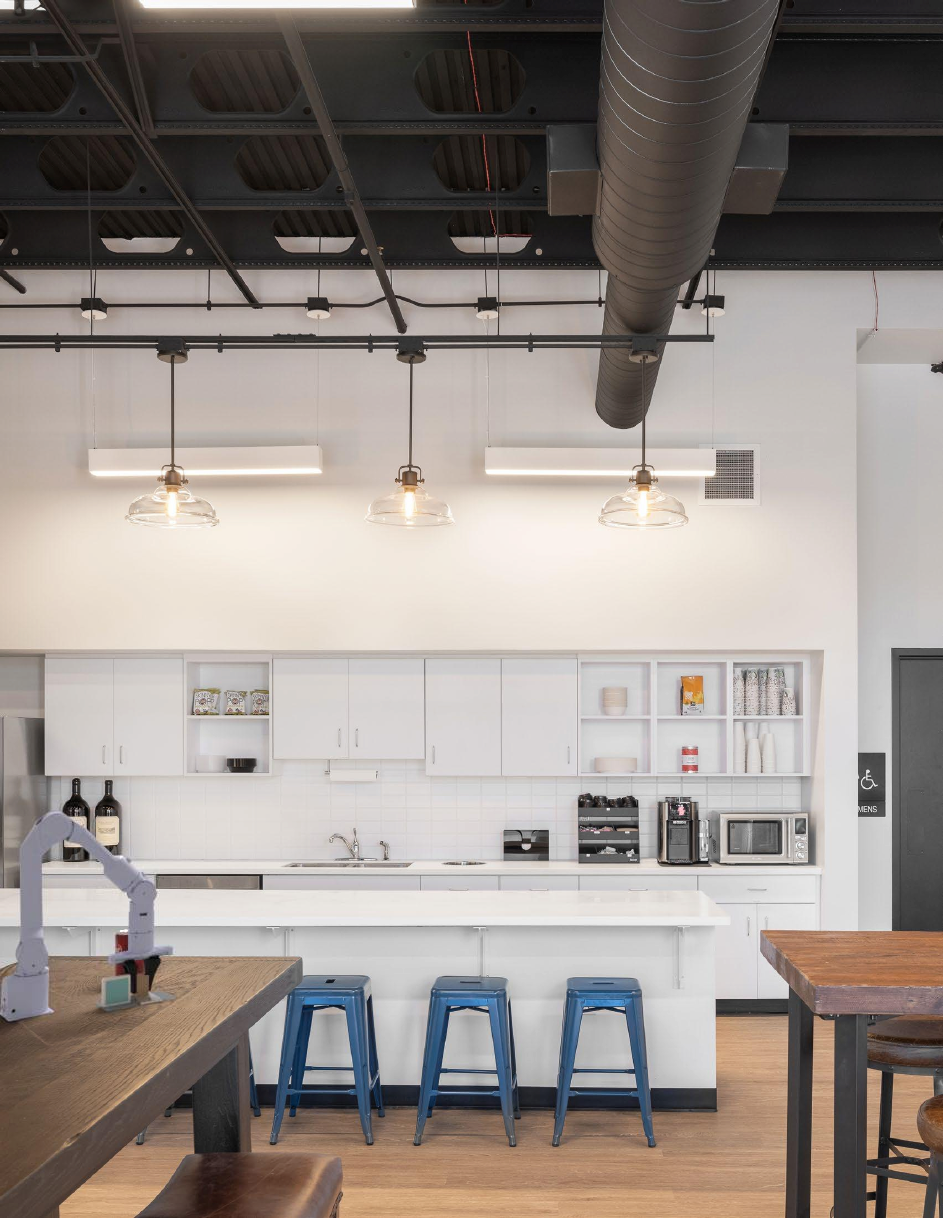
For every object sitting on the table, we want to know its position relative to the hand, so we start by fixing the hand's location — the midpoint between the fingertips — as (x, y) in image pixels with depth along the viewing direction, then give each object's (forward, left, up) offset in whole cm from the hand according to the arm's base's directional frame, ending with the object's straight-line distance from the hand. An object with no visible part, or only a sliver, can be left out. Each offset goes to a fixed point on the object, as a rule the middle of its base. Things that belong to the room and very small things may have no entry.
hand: (140, 991), depth 236 cm
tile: (-6, -3, -1) cm, 7 cm away
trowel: (0, -2, -1) cm, 2 cm away
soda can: (+4, +18, -2) cm, 19 cm away
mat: (-2, -2, -2) cm, 3 cm away
